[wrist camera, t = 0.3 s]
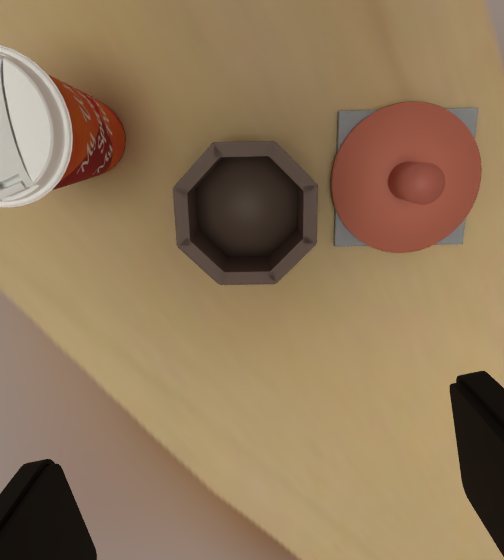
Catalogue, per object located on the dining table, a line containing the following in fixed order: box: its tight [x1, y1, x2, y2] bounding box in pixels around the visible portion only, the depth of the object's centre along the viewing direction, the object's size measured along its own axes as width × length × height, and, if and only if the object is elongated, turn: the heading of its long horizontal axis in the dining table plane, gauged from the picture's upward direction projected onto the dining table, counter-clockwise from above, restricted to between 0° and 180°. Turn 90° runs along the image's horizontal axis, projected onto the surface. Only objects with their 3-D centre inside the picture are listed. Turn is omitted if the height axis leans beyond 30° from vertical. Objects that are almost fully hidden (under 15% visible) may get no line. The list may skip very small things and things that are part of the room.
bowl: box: [173, 141, 318, 285], centre depth 35 cm, size 10×10×6 cm
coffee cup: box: [0, 45, 125, 207], centre depth 29 cm, size 8×8×15 cm
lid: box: [331, 102, 481, 253], centre depth 34 cm, size 12×12×5 cm
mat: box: [334, 108, 478, 246], centre depth 37 cm, size 11×11×1 cm
